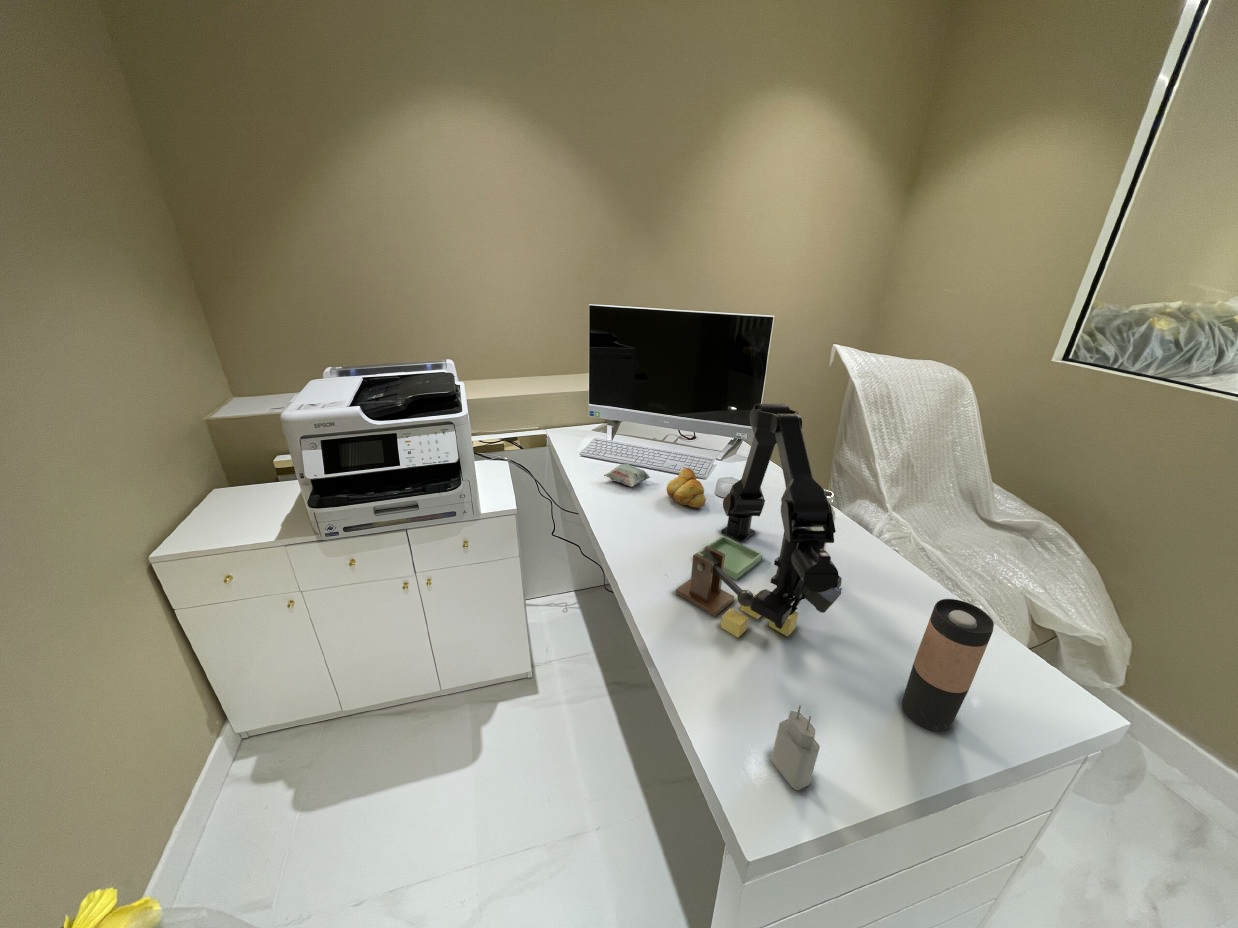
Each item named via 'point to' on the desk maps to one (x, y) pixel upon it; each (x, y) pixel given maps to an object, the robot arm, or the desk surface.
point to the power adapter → (795, 750)
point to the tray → (735, 556)
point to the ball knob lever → (731, 583)
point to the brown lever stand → (706, 584)
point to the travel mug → (946, 663)
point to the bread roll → (686, 489)
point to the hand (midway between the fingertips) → (782, 623)
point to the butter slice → (786, 624)
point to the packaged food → (627, 475)
